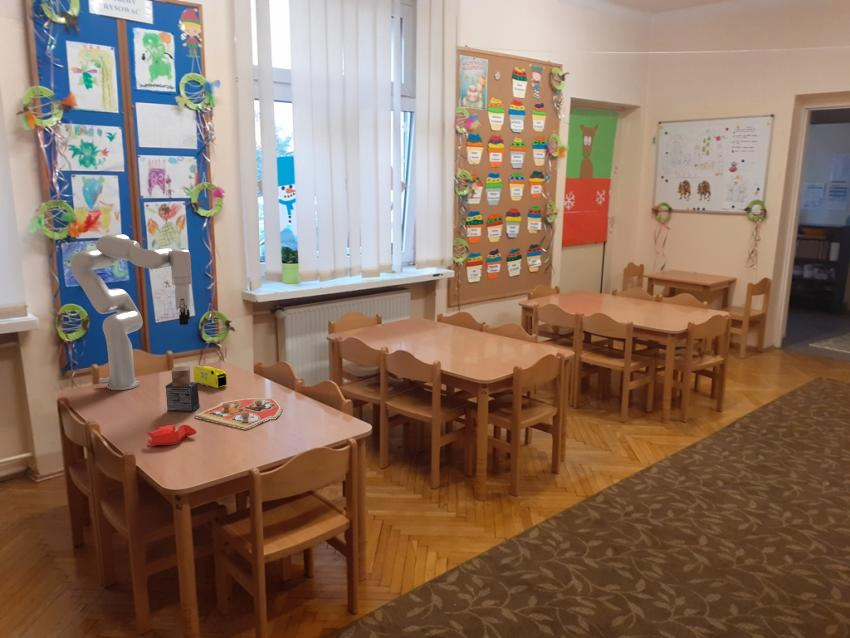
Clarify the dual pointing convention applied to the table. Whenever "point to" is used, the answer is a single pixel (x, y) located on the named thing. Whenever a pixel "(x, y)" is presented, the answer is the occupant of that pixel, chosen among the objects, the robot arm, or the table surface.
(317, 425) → the table surface
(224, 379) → the yellow toy chassis
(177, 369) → the walnut cube
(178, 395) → the small box
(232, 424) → the knob puzzle
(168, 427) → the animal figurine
